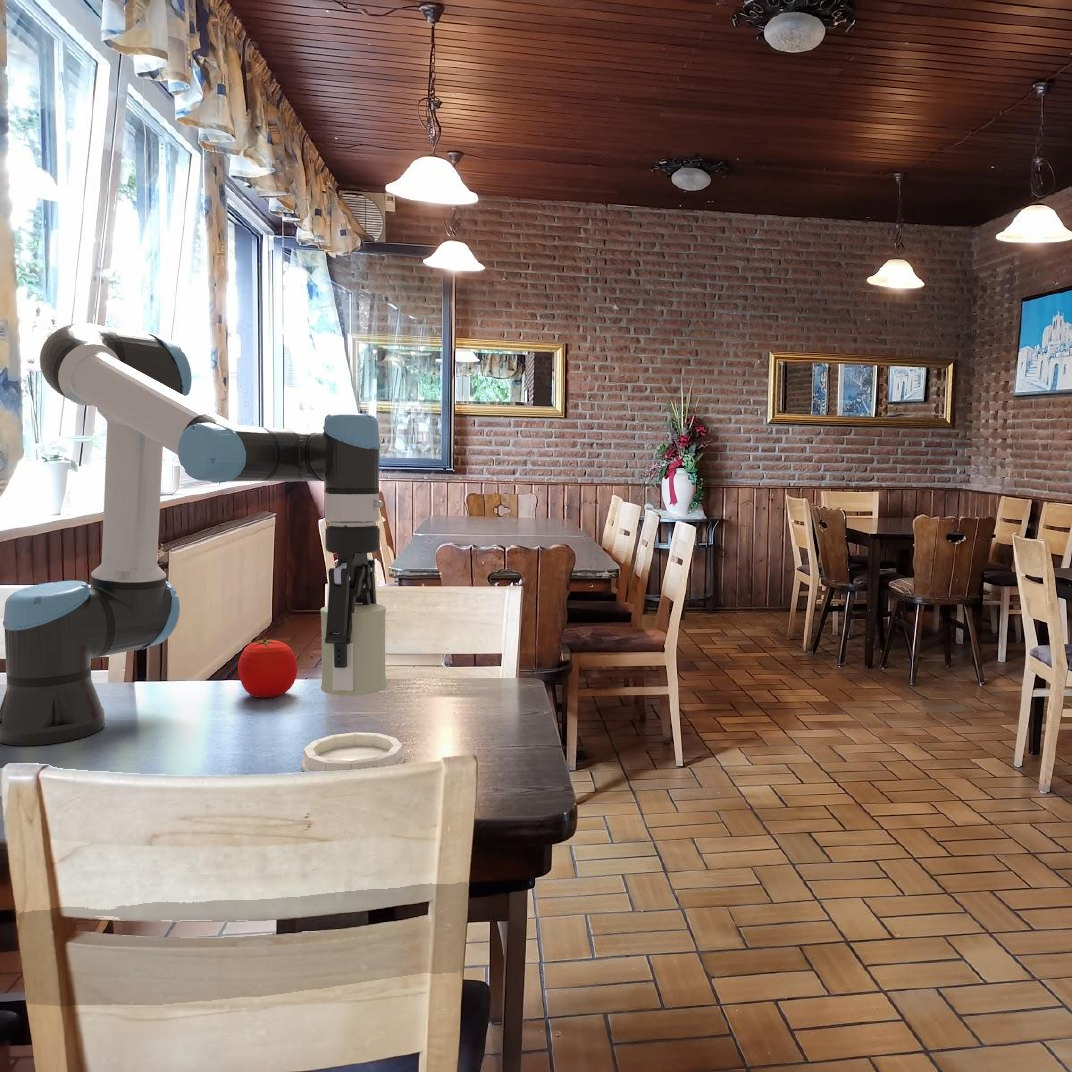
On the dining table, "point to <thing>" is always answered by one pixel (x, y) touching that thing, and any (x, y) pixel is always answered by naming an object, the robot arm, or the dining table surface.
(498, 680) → the dining table surface
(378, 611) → the can
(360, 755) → the saucer
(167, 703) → the dining table surface
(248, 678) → the tomato
